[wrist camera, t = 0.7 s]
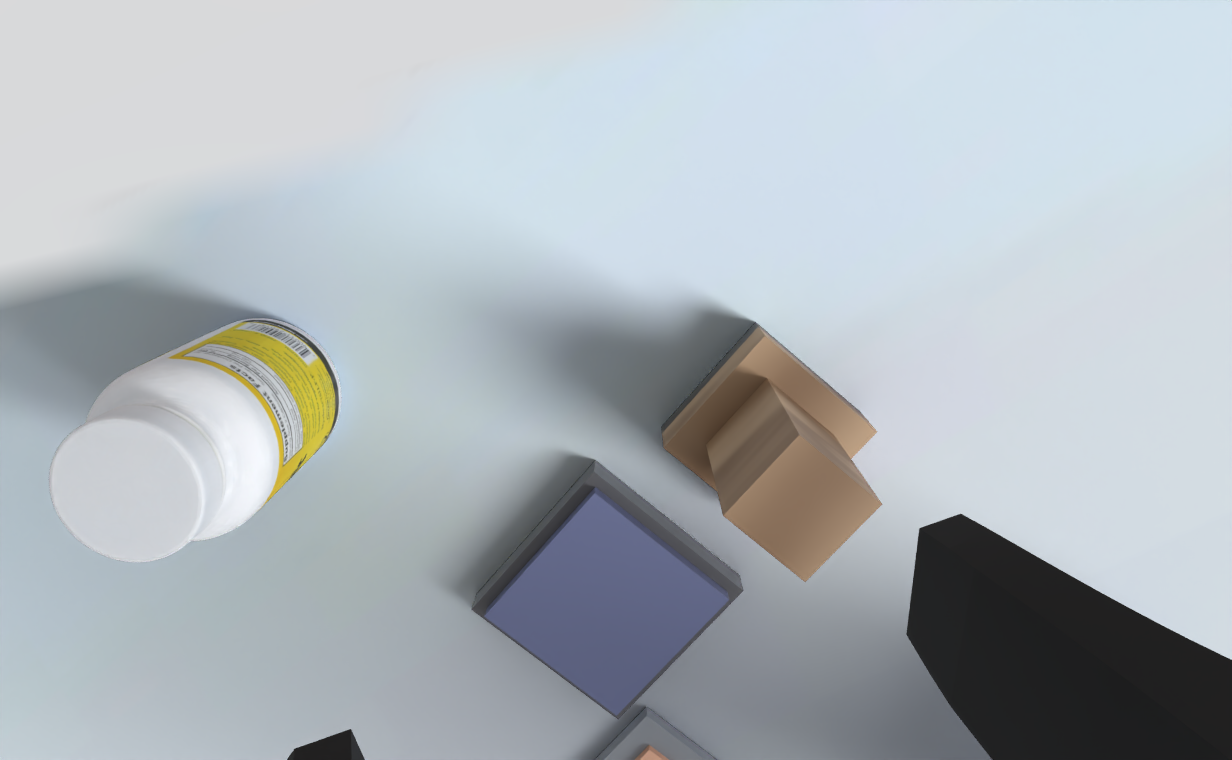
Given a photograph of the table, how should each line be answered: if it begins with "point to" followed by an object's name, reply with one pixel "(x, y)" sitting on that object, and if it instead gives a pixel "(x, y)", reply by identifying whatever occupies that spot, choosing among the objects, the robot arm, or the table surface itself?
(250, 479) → the supplement bottle
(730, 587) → the ink pad
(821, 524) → the stamp
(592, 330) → the table surface
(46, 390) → the table surface
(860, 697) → the table surface
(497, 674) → the table surface
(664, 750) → the board
